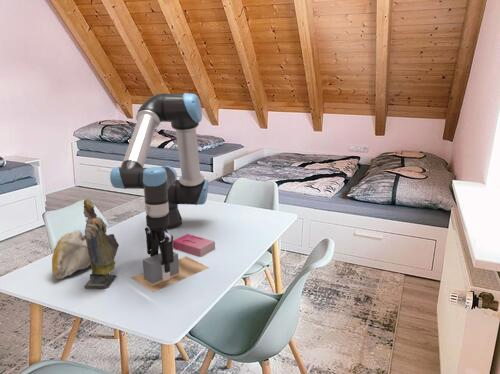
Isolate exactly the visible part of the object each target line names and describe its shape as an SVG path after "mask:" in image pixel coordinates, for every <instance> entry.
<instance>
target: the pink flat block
mask: <svg viewBox="0 0 500 374" xmlns="http://www.w3.org/2000/svg"><path fill="white" fill-rule="evenodd" d="M174 249H175V250H177V251H180V252H184V253H187V254H190V255H193V256H196V257H200V258H201V257H204V256H205V255H207V254H208V253H211V252H213V251H214V250H216V241H214V240H211V239H208V238H204V237H201V236H196V235H194V234H189V233H187V234H184V235H182V236H180V237H178V238H176V237H173V250H174Z"/></svg>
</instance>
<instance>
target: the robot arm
mask: <svg viewBox="0 0 500 374" xmlns="http://www.w3.org/2000/svg"><path fill="white" fill-rule="evenodd" d="M202 113H203V109H202V104H201V100H200V98H199V97H198V95H197V94H195V93H189V92H184V93H182V92H181V93H178V92H177V93H176V92H175V93H174V92H173V93H172V92H171V93H165V92H162V93H156V94H153V95H152V96H150V97H149V98H148V99H146V100H145V101H144V102H143V103H142V104H141V105H140V107H139V109H138V110H137V113H136V115H135V118H136V119H135V120H136V123H135V126H134V129H133V132H132V135H131V138H130V141H129V142H128V147H127V149H126V152H125V155H124V157H123V161H122V163H121V165H120V166H115V167H113V168H111V170H110V174H109V180H110V184H111V186H112V187H113V188H116V189H123V190H127V189H130V190H131V189H132V190H133V189H134V190H135V189H136V190H139V189H142V190H143V194H144V203H145V208H144V210H145V220H146V221H145V222H146V227H145V228H144V231H145V232H144V233H145V239H146V252H147V253H146V254H147V255H149V257H151V256H154V255H157V254H160V253H161V257H162V262H163V263H161V268H162V281H163V282H164V281H167V280H169V279H170V263H172V262H174V257H173V252H174V249H173V238H174V235H172V234H171V235H170V234H169V233H168V232H169V231H168V230H171V229H172V230H173V229H176V228H179V227H181V226H182V225H183V219H182V215H181V212H180V210H179V207H178V205H195V206H199V205H201V206H202V205H205V204H206V202H207V198H208V195H209V194H208V193H209V180H207V179H205V177H204V175H203V174H202V173H201V166H200V157H199V148H198V146H199V145H198V137H197V128H198V126H199V125H200V123H201V121H202V120H203V114H202ZM163 122H165V123H170V124H171V128H172V129H173V130H175V136H176V143H177V149H178V150H177V151H178V158H179V166H180V172H181V176H180V177H179V179H178V174H177V171H176V170H175V169H174V167H172V166H170V165H163V166H153V167H152V166H151V167H144V166H145V163H146V159H147V157H148V154H149V151H150V147H151V144H152V141H153V137H154V134H155V131H156V128H158V127H159V126H160V125H161V123H163ZM159 251H160V253H159Z"/></svg>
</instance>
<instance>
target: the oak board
mask: <svg viewBox="0 0 500 374" xmlns="http://www.w3.org/2000/svg"><path fill="white" fill-rule="evenodd" d="M178 263H179V275H177V276H175V277H173V278H170V279H169V280H167V281H164V282H161V283H158V284H156V285H154V286H151V285H150V284H148V283H147V282H145V281H144V272H142V273H139V274H137V275H133V276H132V277H130V279H132V280H134V281H135V282H137V283H138V284H139V285H142V286H143V287H145V288H146V289H147V290H149V291H150V292H153V293H155V292H156V291H160V290H161V289H163V288H166V287H168V286H170V285H172V284H175V283H178V282H181V281H182V280H185V279H186V278H190V277H191V276H194V275H196V274H198V273H201V272H202V271H205V270H207V269H210V267H209V266H207V265H205V264H203V263H201V262H198V261H196V260H194V259H193V258H190V257H188V256H183V257H181V258H178Z"/></svg>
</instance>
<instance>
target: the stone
mask: <svg viewBox="0 0 500 374" xmlns="http://www.w3.org/2000/svg"><path fill="white" fill-rule="evenodd" d="M105 234H106V235H108V234H107V232H106V233H105ZM82 236H83V233H82V231H81V230H75V231H73V232H70V233H69V232H68V233H66V234H64V235H63V236H61V237H60V239H58V241H57V242H56V245H55V247H54V248H53V254H52V256H51V257H52V259H51V270H52V271H51V273H52V275H53V276H54V277H55V279H57V280H63V279H64V278H66V277H68V276H71V275H72V274H74V273H75V272H77V271H78V270H83V269H86V268H88V267H90V266H91V260H90V256H89V253H88V248H87V243H86V239H84V240H83V241H82V240H81V239H80V237H82Z"/></svg>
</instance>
